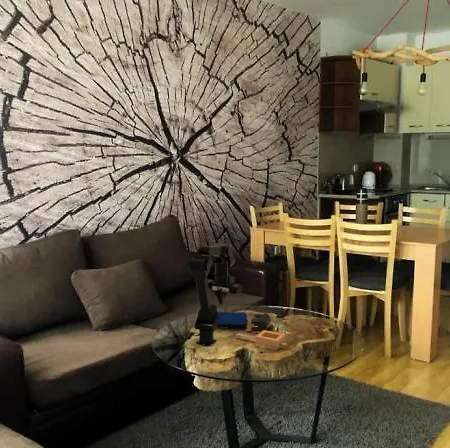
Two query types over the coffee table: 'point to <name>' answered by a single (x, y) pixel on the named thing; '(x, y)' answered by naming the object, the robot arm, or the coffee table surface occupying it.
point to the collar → (270, 338)
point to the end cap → (260, 322)
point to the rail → (255, 338)
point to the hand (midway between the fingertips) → (221, 304)
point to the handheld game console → (232, 319)
